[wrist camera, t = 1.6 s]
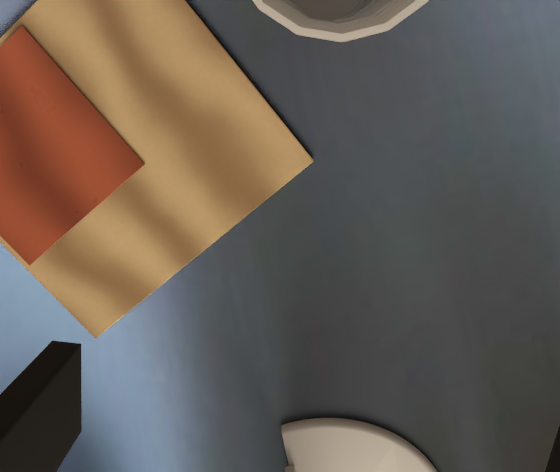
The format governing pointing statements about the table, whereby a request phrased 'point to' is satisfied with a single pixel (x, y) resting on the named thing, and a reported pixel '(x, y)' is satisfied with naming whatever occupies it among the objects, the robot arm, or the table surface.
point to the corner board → (127, 148)
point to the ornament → (348, 448)
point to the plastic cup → (338, 16)
